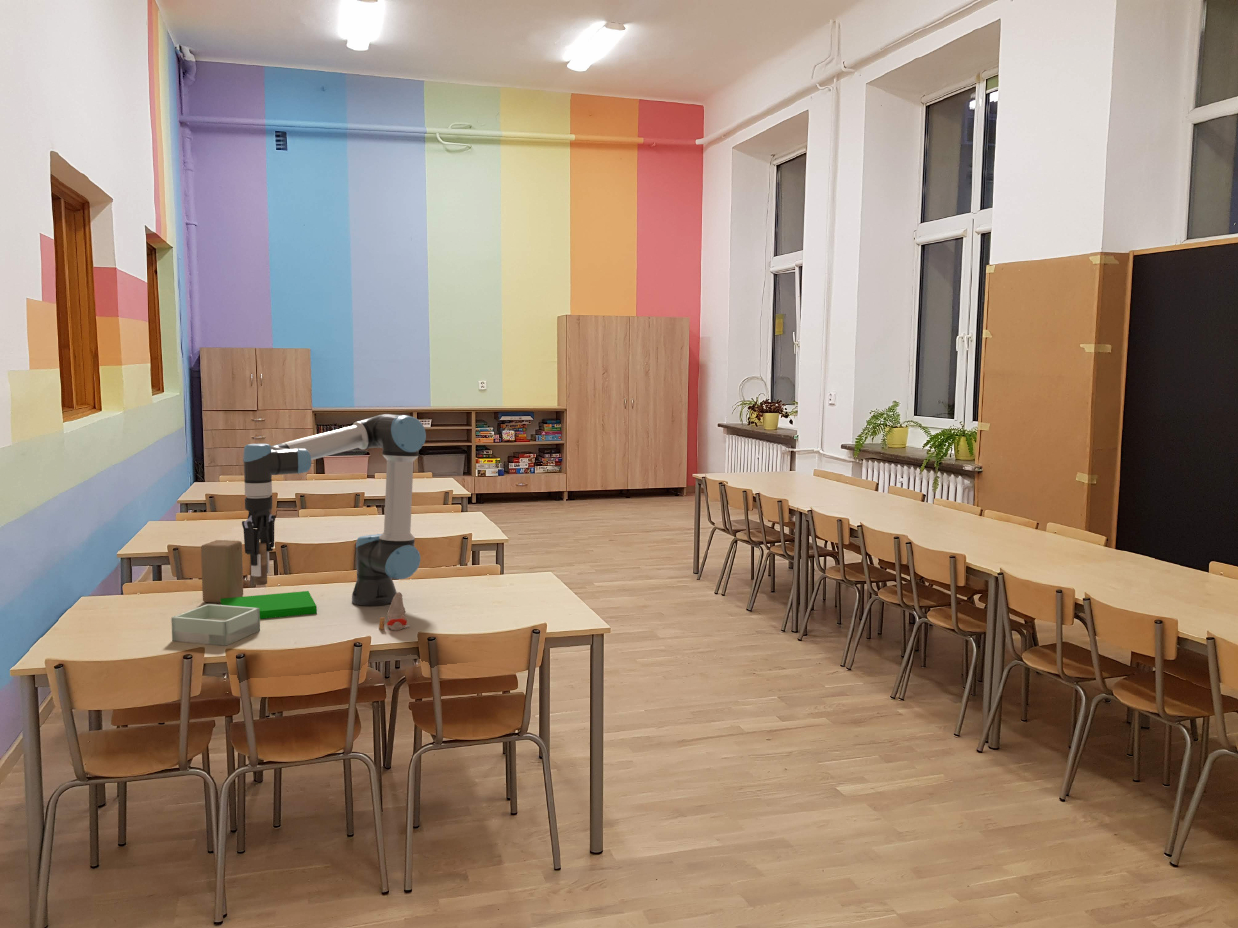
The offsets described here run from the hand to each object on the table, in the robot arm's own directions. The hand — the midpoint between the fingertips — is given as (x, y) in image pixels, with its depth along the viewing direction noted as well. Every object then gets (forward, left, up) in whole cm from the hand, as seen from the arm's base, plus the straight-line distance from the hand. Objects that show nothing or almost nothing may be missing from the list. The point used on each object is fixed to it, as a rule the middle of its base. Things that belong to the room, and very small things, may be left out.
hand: (260, 574), depth 272 cm
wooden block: (+38, -33, -19) cm, 53 cm away
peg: (0, 0, -3) cm, 3 cm away
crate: (+13, +4, -19) cm, 23 cm away
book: (+16, -26, -19) cm, 36 cm away
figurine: (-34, -17, -19) cm, 43 cm away
